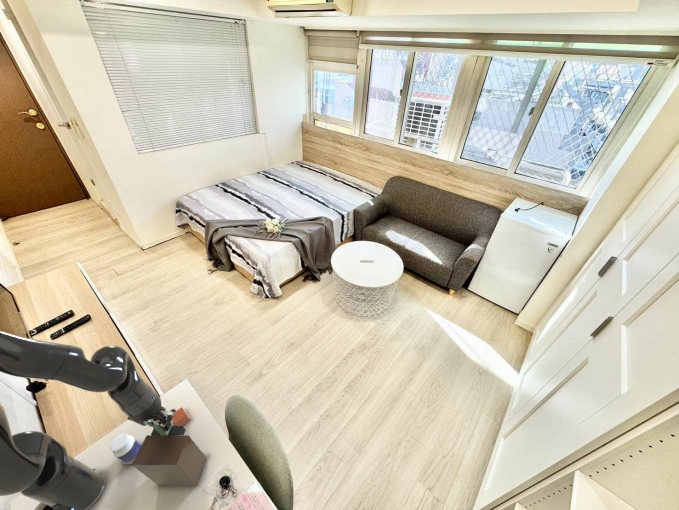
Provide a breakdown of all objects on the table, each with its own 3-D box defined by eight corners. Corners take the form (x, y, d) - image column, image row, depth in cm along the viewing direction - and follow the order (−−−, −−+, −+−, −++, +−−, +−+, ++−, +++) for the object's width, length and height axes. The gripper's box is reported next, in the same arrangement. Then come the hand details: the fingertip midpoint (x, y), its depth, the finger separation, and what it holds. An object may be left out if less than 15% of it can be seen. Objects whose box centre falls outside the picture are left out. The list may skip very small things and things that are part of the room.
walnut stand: (158, 485, 81) (131, 465, 71) (170, 457, 87) (146, 435, 76) (197, 485, 81) (176, 464, 71) (206, 457, 87) (188, 435, 76)
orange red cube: (190, 419, 96) (186, 414, 94) (179, 428, 94) (174, 423, 91) (185, 411, 98) (181, 406, 96) (174, 420, 96) (170, 415, 94)
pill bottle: (147, 445, 90) (134, 432, 84) (135, 465, 85) (120, 454, 79) (131, 443, 90) (117, 430, 84) (119, 463, 86) (102, 452, 80)
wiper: (154, 439, 85) (140, 426, 79) (159, 429, 88) (145, 415, 82) (182, 439, 85) (170, 425, 79) (186, 428, 88) (175, 415, 82)
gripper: (104, 415, 70) (135, 441, 81) (156, 415, 70) (180, 441, 81) (123, 387, 76) (149, 414, 87) (171, 387, 76) (191, 414, 87)
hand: (164, 427), depth 84 cm, fingers closed on wiper, 2 cm apart
